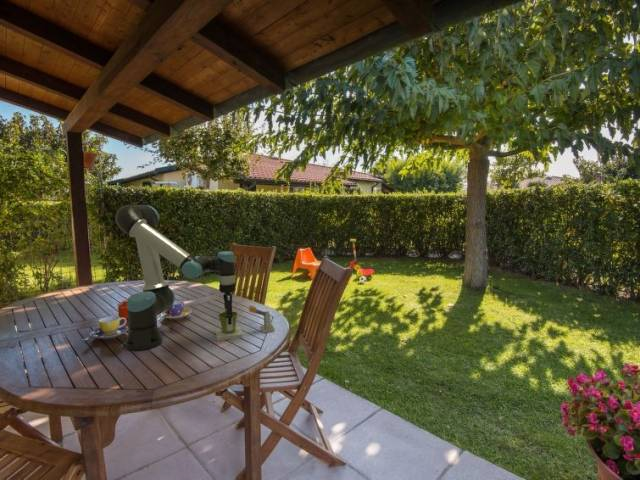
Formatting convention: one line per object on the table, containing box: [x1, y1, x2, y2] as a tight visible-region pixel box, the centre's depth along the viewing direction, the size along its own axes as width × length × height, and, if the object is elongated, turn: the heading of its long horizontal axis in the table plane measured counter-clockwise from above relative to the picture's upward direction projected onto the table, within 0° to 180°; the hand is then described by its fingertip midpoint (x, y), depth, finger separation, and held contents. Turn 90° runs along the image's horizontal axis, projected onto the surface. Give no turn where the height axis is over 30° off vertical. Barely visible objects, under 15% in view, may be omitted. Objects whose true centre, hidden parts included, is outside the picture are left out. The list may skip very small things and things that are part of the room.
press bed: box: [215, 326, 244, 342], centre depth 169 cm, size 12×11×2 cm
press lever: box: [248, 305, 270, 317], centre depth 173 cm, size 10×4×2 cm, turn 109°
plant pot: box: [217, 310, 239, 333], centre depth 170 cm, size 9×9×9 cm
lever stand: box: [259, 310, 276, 334], centre depth 175 cm, size 6×7×9 cm
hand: (228, 325), depth 169 cm, fingers open, 13 cm apart
